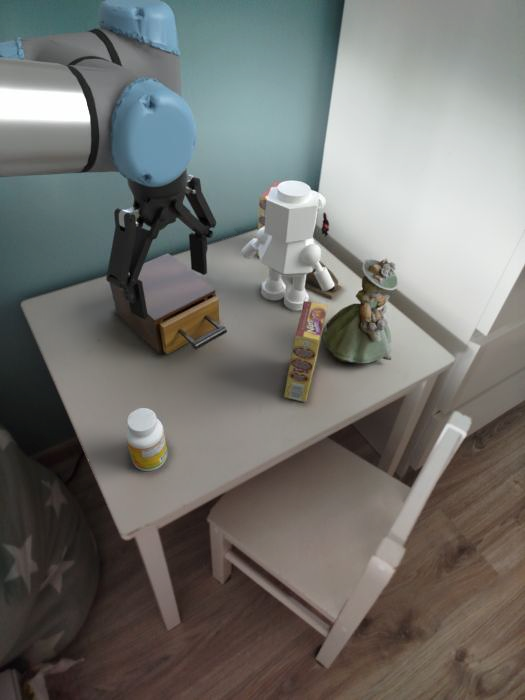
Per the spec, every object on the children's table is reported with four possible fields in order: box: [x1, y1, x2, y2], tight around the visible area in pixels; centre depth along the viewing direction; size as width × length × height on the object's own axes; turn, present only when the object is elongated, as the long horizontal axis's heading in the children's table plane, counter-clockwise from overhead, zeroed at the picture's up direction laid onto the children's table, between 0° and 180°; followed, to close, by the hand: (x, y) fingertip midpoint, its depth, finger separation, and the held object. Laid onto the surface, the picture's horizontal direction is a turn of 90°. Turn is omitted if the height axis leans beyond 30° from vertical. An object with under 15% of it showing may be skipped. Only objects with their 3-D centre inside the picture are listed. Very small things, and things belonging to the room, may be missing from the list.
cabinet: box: [108, 252, 217, 355], centre depth 91 cm, size 16×14×9 cm
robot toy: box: [241, 179, 335, 312], centre depth 92 cm, size 22×12×25 cm, turn 58°
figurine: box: [322, 257, 399, 365], centre depth 83 cm, size 14×14×20 cm
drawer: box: [159, 296, 228, 355], centre depth 88 cm, size 20×12×7 cm, turn 43°
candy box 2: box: [283, 301, 328, 403], centre depth 78 cm, size 9×4×15 cm, turn 167°
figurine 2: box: [304, 260, 342, 300], centre depth 102 cm, size 14×4×9 cm, turn 56°
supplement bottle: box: [124, 407, 168, 472], centre depth 68 cm, size 5×5×10 cm
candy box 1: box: [256, 181, 281, 257], centre depth 108 cm, size 9×4×15 cm, turn 154°
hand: (171, 291), depth 72 cm, fingers open, 13 cm apart
